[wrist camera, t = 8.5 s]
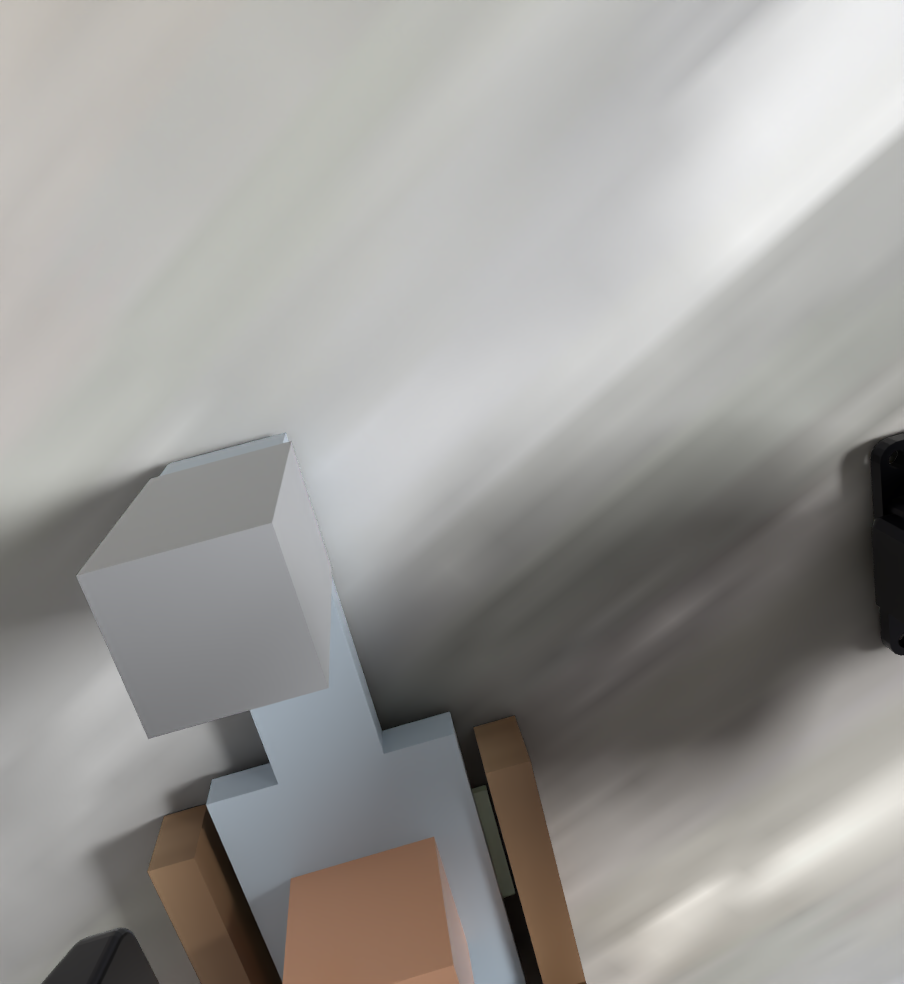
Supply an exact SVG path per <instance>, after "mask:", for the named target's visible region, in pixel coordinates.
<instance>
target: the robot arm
mask: <svg viewBox="0 0 904 984" xmlns="http://www.w3.org/2000/svg"><path fill="white" fill-rule="evenodd" d="M895 451H897V458H896V459H895V460H894V462H892V463H890V464H889V459H890V456H891V455H892V453H893V452H895ZM871 477H872V493H873V510H874V522H873V525H872V529H871V530H872V547H873V563H874V579H875V595H876V604H877V605H878V606H879V610H880V626H881V639H882V642H883V644H884V645H885V646H886V647H887V648H889V649H890V650H891V651H893V652H894V653H895V654H898V655H904V637H903V638H902V639H900V640H899V638H900V636H901V635H902V634H904V433H902V434H898V435H895V436H891V437H887V438H885V439H883V440H881V441H880V442H879V443H878V444H877V445H876V446H875V447H874V449H873V451H872V453H871ZM42 984H159V982H158V980H157V979H156V977H155V975H154V973H153V971H152V969H151V967H150V965H149V963H148V961H147V959H146V957H145V955H144V953H143V951H142V949H141V947H140V945H139V943H138V941H137V939H136V937H135V936H134V935H133V933H132V932H131V931H129V930H128V929H126V928H117V929H113V930H110V931H106V932H103V933H99V934H96V935H93V936H89V937H86V938H84V939H82V940H80V941H79V942H78V943H77V944H76V945H75V946H74V947H73V948H72V949H71V950H70V951H69V952H68V953H67V955H66V956H65V957H64V958H63V959H62V960H61V962H60V963H59V964H58V965H57V966H56V967H55V969H54V970H53V971H52V972H51V973H50V974H49V975H48V977H47V978H46V979H45V980H44V981H43V982H42Z"/></svg>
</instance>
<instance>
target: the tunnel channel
mask: <svg viewBox="0 0 904 984" xmlns="http://www.w3.org/2000/svg"><path fill="white" fill-rule="evenodd" d="M473 728H474V732H475V736H476V740H477V743H478V747H479V751H480V755H481V759H482V762H483V766H484V770H485V774H486V777H487V781H488V785H489V788H490V792H491V796H492V799H493V803H494V807H495V810H496V814H497V817H498V821H499V825H500V828H501V832H502V836H503V839H504V843H505V847H506V850H507V854H508V857H509V861H510V865H511V868H512V872H513V876H514V879H515V883H516V887H517V890H518V894H519V897H520V901H521V905H522V908H523V912H524V916H525V919H526V923H527V927H528V930H529V934H530V937H531V941H532V945H533V948H534V952H535V956H536V959H537V963H538V967H539V970H540V974H541V977H542V981H543V984H586V981H585V977H584V973H583V969H582V965H581V961H580V957H579V953H578V949H577V945H576V941H575V937H574V933H573V929H572V925H571V921H570V917H569V913H568V909H567V905H566V901H565V897H564V893H563V889H562V885H561V881H560V877H559V873H558V869H557V865H556V861H555V857H554V853H553V849H552V845H551V841H550V837H549V833H548V829H547V825H546V821H545V817H544V813H543V809H542V805H541V801H540V797H539V793H538V789H537V785H536V781H535V777H534V773H533V768H532V764H531V761H530V758H529V755H528V752H527V749H526V746H525V744H524V741H523V738H522V735H521V732H520V729H519V727H518V724H517V721H516V718H515V716H511V717H508V718H504V719H501V720H497V721H494V722H490V723H487V724H483V725H480V726H476V727H473ZM472 792H473V795H474V799H475V802H476V806H477V809H478V813H479V816H480V820H481V823H482V827H483V830H484V834H485V837H486V841H487V844H488V848H489V851H490V855H491V858H492V862H493V865H494V869H495V872H496V876H497V879H498V883H499V886H500V890H501V893H502V897H507V896H510V895H513V894H515V890H514V886H513V883H512V879H511V875H510V872H509V868H508V864H507V861H506V857H505V854H504V850H503V846H502V843H501V839H500V836H499V832H498V828H497V825H496V821H495V817H494V814H493V810H492V807H491V803H490V799H489V796H488V792H487V789H486V785H484V786H480V787H477V788H473V789H472ZM147 872H148V874H149V876H150V878H151V880H152V883H153V885H154V887H155V889H156V891H157V893H158V895H159V897H160V899H161V901H162V903H163V905H164V908H165V910H166V912H167V914H168V916H169V918H170V920H171V922H172V924H173V926H174V928H175V930H176V933H177V935H178V937H179V939H180V941H181V943H182V945H183V947H184V949H185V951H186V953H187V955H188V958H189V960H190V962H191V964H192V966H193V968H194V970H195V972H196V974H197V976H198V978H199V980H200V983H201V984H282V980H281V978H280V976H279V973H278V971H277V969H276V966H275V964H274V962H273V959H272V957H271V955H270V953H269V950H268V948H267V946H266V943H265V941H264V939H263V936H262V934H261V932H260V929H259V927H258V925H257V922H256V920H255V918H254V915H253V913H252V911H251V908H250V906H249V904H248V901H247V899H246V897H245V894H244V892H243V890H242V888H241V885H240V883H239V881H238V878H237V876H236V874H235V871H234V869H233V867H232V864H231V862H230V860H229V857H228V855H227V853H226V850H225V848H224V846H223V843H222V841H221V839H220V836H219V834H218V832H217V829H216V827H215V825H214V823H213V820H212V818H211V816H210V813H209V811H208V809H207V806H206V804H204V805H201V806H197V807H194V808H190V809H187V810H183V811H180V812H177V813H173V814H170V815H166V816H164V818H163V821H162V825H161V828H160V831H159V835H158V838H157V841H156V845H155V848H154V851H153V855H152V858H151V861H150V864H149V868H148V871H147Z"/></svg>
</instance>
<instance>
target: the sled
mask: <svg viewBox="0 0 904 984" xmlns="http://www.w3.org/2000/svg"><path fill="white" fill-rule="evenodd" d="M76 577H77V580H78V582H79V584H80V586H81V589H82V591H83V593H84V595H85V598H86V600H87V602H88V604H89V607H90V609H91V611H92V613H93V616H94V618H95V620H96V622H97V625H98V627H99V629H100V631H101V633H102V636H103V638H104V640H105V642H106V645H107V647H108V649H109V651H110V654H111V656H112V658H113V660H114V663H115V665H116V667H117V669H118V672H119V674H120V676H121V678H122V681H123V683H124V685H125V687H126V690H127V692H128V694H129V696H130V699H131V701H132V703H133V705H134V708H135V710H136V712H137V714H138V716H139V719H140V721H141V723H142V725H143V728H144V730H145V732H146V734H147V737H148V739H150V738H153V737H157V736H160V735H164V734H167V733H171V732H174V731H178V730H182V729H185V728H189V727H192V726H196V725H199V724H203V723H206V722H210V721H213V720H217V719H221V718H224V717H228V716H231V715H235V714H238V713H242V712H245V711H249V710H250V712H251V715H252V718H253V720H254V723H255V725H256V728H257V730H258V733H259V736H260V738H261V741H262V743H263V746H264V749H265V751H266V754H267V756H268V759H269V761H270V763H268V764H264V765H261V766H257V767H254V768H250V769H247V770H243V771H240V772H236V773H233V774H229V775H226V776H222V777H219V778H215V779H212V782H211V786H210V790H209V794H208V799H207V803H206V806H207V809H208V811H209V813H210V816H211V818H212V820H213V823H214V825H215V827H216V829H217V832H218V834H219V836H220V839H221V841H222V843H223V846H224V848H225V850H226V853H227V855H228V857H229V860H230V862H231V864H232V867H233V869H234V871H235V874H236V876H237V878H238V881H239V883H240V885H241V888H242V890H243V892H244V894H245V897H246V899H247V901H248V904H249V906H250V908H251V911H252V913H253V915H254V918H255V920H256V922H257V925H258V927H259V929H260V932H261V934H262V936H263V939H264V941H265V943H266V946H267V948H268V950H269V953H270V955H271V957H272V959H273V962H274V964H275V966H276V969H277V971H278V973H279V976H280V978H281V980H282V982H283V970H284V957H285V944H286V932H287V919H288V906H289V894H290V881H291V878H294V877H297V876H301V875H304V874H308V873H311V872H315V871H318V870H321V869H325V868H328V867H332V866H335V865H338V864H342V863H345V862H349V861H352V860H356V859H359V858H362V857H366V856H369V855H373V854H376V853H379V852H383V851H386V850H390V849H393V848H397V847H400V846H403V845H407V844H410V843H414V842H417V841H420V840H424V839H427V838H431V837H434V838H435V841H436V844H437V847H438V851H439V854H440V857H441V860H442V863H443V867H444V870H445V873H446V876H447V879H448V883H449V886H450V889H451V892H452V895H453V899H454V902H455V905H456V908H457V911H458V915H459V918H460V921H461V924H462V927H463V931H464V934H465V937H466V940H467V944H468V949H469V955H470V961H471V966H472V972H473V978H474V984H527V983H526V979H525V974H524V971H523V967H522V964H521V960H520V957H519V953H518V950H517V946H516V943H515V939H514V936H513V932H512V929H511V925H510V922H509V918H508V915H507V911H506V907H505V904H504V900H503V897H502V893H501V890H500V886H499V883H498V879H497V876H496V872H495V869H494V865H493V862H492V858H491V855H490V851H489V848H488V844H487V841H486V837H485V834H484V830H483V827H482V823H481V820H480V816H479V813H478V809H477V806H476V802H475V799H474V795H473V792H472V788H471V784H470V781H469V777H468V774H467V770H466V767H465V763H464V760H463V756H462V753H461V749H460V746H459V742H458V739H457V735H456V732H455V728H454V725H453V721H452V718H451V714H450V712H447V713H443V714H440V715H436V716H433V717H429V718H426V719H422V720H419V721H415V722H412V723H408V724H405V725H401V726H398V727H394V728H391V729H387V730H384V731H382V729H381V726H380V723H379V720H378V717H377V714H376V711H375V708H374V705H373V701H372V698H371V695H370V692H369V689H368V686H367V683H366V680H365V677H364V674H363V671H362V667H361V664H360V661H359V658H358V655H357V652H356V649H355V646H354V643H353V640H352V636H351V633H350V630H349V627H348V624H347V621H346V618H345V615H344V612H343V609H342V605H341V602H340V599H339V596H338V593H337V590H336V587H335V584H334V581H333V578H332V566H331V563H330V559H329V556H328V553H327V550H326V547H325V544H324V541H323V538H322V535H321V531H320V528H319V525H318V522H317V519H316V516H315V513H314V510H313V507H312V503H311V500H310V497H309V494H308V491H307V488H306V485H305V482H304V479H303V475H302V472H301V469H300V466H299V463H298V460H297V457H296V454H295V450H294V447H293V444H292V441H290V442H289V441H288V438H287V435H286V433H282V434H278V435H274V436H271V437H267V438H263V439H259V440H256V441H252V442H248V443H244V444H241V445H237V446H233V447H229V448H226V449H222V450H218V451H214V452H211V453H207V454H203V455H199V456H196V457H192V458H188V459H184V460H180V461H177V462H173V463H169V464H168V465H167V466H166V468H165V469H164V470H163V472H162V473H161V474H160V476H159V477H155V478H151V479H150V480H149V481H148V482H147V484H146V485H145V486H144V487H143V489H142V490H141V491H140V493H139V494H138V495H137V497H136V498H135V499H134V501H133V502H132V503H131V504H130V506H129V507H128V508H127V510H126V511H125V512H124V514H123V515H122V516H121V518H120V519H119V520H118V521H117V523H116V524H115V525H114V527H113V528H112V529H111V531H110V532H109V533H108V535H107V536H106V537H105V538H104V540H103V541H102V542H101V544H100V545H99V546H98V548H97V549H96V550H95V552H94V553H93V554H92V555H91V557H90V558H89V559H88V561H87V562H86V563H85V565H84V566H83V567H82V568H81V570H80V571H79V572H78V574H77V575H76Z"/></svg>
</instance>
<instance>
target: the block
mask: <svg viewBox="0 0 904 984" xmlns="http://www.w3.org/2000/svg"><path fill="white" fill-rule="evenodd" d="M282 984H474V978H473V972H472V966H471V961H470V955H469V949H468V944H467V940H466V937H465V934H464V931H463V927H462V924H461V921H460V918H459V915H458V911H457V908H456V905H455V902H454V899H453V895H452V892H451V889H450V886H449V883H448V879H447V876H446V873H445V870H444V867H443V863H442V860H441V857H440V854H439V851H438V847H437V844H436V841H435V838H434V837H431V838H427V839H424V840H420V841H417V842H414V843H410V844H407V845H403V846H400V847H397V848H393V849H390V850H386V851H383V852H379V853H376V854H373V855H369V856H366V857H362V858H359V859H356V860H352V861H349V862H345V863H342V864H338V865H335V866H332V867H328V868H325V869H321V870H318V871H315V872H311V873H308V874H304V875H301V876H297V877H294V878H291V881H290V894H289V906H288V919H287V932H286V944H285V957H284V970H283V982H282Z"/></svg>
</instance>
